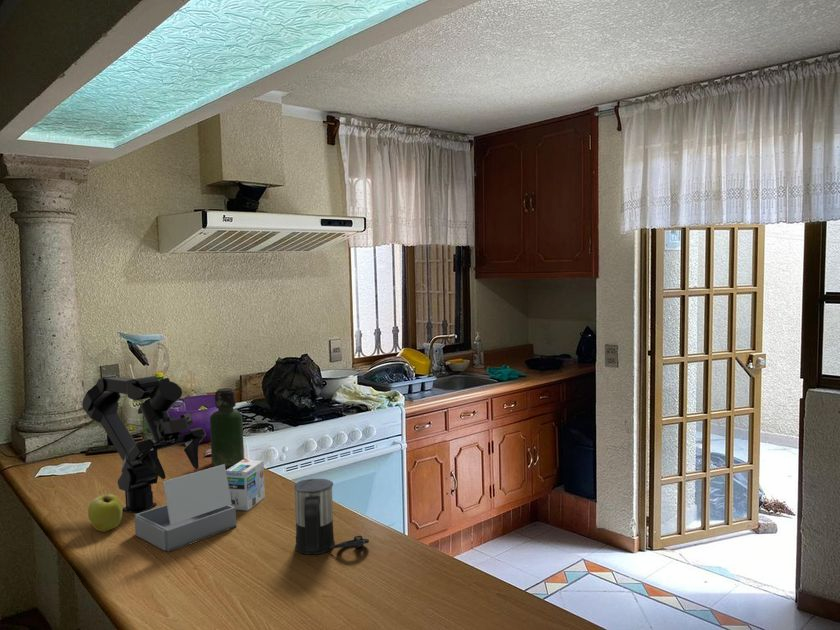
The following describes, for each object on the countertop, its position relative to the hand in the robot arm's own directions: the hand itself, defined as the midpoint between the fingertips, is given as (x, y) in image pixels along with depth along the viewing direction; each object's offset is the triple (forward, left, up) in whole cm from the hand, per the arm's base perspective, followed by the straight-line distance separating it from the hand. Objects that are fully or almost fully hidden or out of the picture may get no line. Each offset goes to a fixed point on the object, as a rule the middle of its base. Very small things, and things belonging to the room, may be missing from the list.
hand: (181, 473), depth 159 cm
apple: (-17, -8, -14) cm, 23 cm away
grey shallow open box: (+3, -2, -13) cm, 14 cm away
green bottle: (-22, +47, -14) cm, 54 cm away
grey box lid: (+10, -5, -8) cm, 14 cm away
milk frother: (+42, 0, -14) cm, 44 cm away
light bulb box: (+6, +18, -14) cm, 23 cm away
